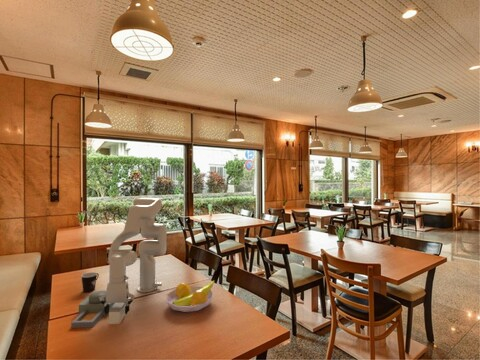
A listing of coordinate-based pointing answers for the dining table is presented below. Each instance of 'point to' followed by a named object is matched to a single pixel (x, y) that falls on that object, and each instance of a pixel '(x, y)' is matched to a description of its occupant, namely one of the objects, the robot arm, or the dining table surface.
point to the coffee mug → (89, 281)
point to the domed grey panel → (90, 310)
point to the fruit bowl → (189, 297)
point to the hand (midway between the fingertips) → (116, 313)
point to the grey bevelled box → (116, 313)
